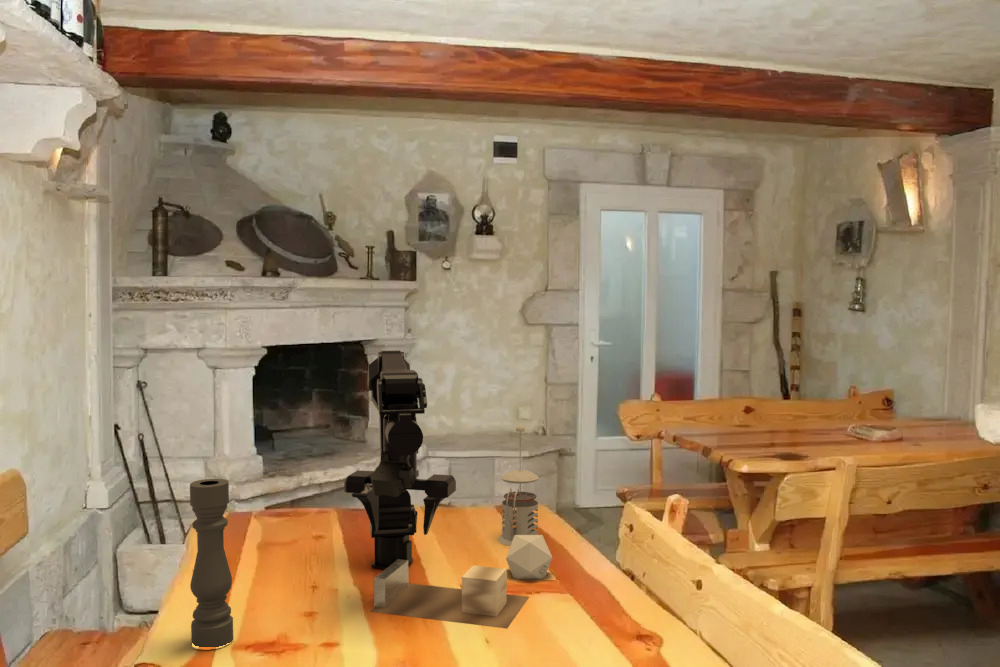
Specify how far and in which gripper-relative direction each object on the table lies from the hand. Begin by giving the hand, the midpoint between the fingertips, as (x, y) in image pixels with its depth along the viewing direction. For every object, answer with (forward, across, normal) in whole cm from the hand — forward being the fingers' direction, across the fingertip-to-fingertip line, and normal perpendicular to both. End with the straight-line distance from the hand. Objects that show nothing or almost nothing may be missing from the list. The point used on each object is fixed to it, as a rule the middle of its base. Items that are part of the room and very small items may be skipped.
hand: (400, 532), depth 145 cm
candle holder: (+12, -23, -22) cm, 34 cm away
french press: (+12, +13, +38) cm, 42 cm away
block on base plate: (+12, +10, -2) cm, 16 cm away
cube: (+11, +16, -2) cm, 19 cm away
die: (+12, +20, +16) cm, 28 cm away
